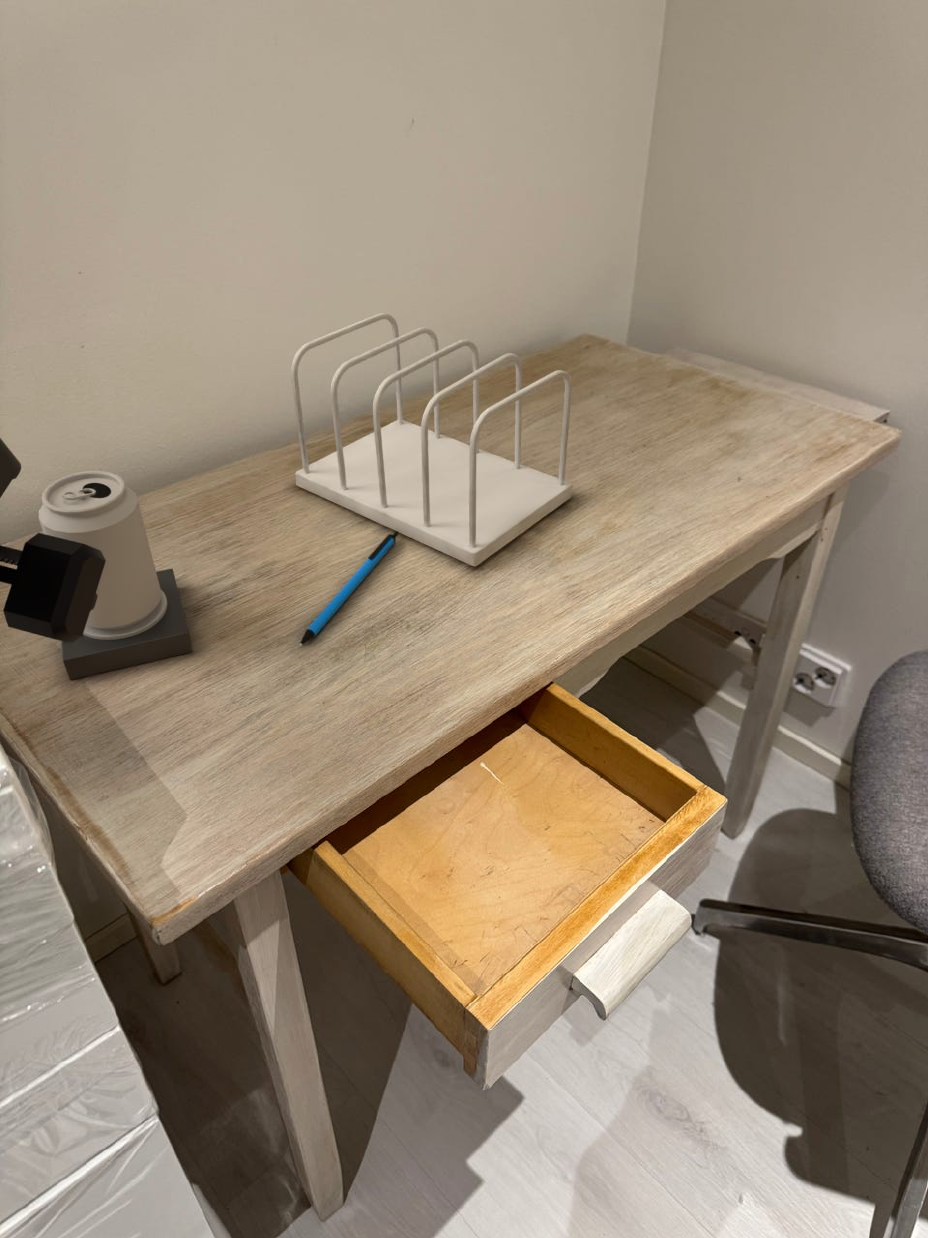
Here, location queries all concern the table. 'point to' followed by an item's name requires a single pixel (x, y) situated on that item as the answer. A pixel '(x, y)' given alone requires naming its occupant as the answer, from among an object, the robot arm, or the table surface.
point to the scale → (132, 638)
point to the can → (106, 543)
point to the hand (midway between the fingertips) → (39, 587)
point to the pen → (349, 588)
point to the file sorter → (434, 461)
